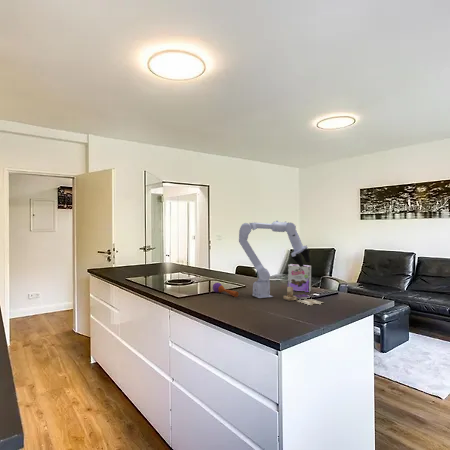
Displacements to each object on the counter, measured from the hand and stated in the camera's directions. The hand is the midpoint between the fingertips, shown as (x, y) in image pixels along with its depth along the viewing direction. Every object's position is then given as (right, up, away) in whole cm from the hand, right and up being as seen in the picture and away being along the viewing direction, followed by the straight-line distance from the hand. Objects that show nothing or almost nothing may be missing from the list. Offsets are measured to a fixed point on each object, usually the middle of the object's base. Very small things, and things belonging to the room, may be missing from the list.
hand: (305, 264), depth 184 cm
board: (-1, -19, -13) cm, 23 cm away
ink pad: (-2, -19, -2) cm, 19 cm away
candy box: (+1, -20, +19) cm, 28 cm away
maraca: (-46, -19, +7) cm, 50 cm away
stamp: (-10, -19, -7) cm, 22 cm away
